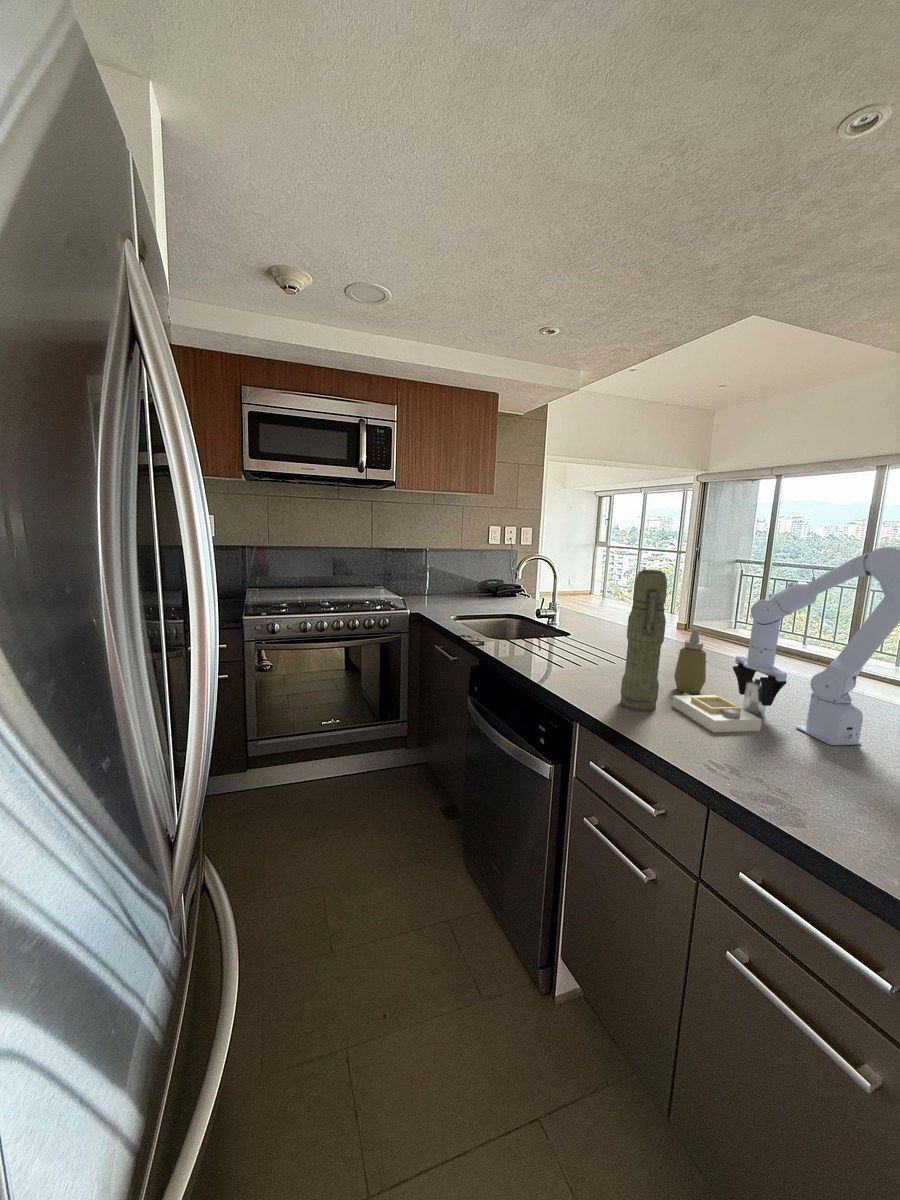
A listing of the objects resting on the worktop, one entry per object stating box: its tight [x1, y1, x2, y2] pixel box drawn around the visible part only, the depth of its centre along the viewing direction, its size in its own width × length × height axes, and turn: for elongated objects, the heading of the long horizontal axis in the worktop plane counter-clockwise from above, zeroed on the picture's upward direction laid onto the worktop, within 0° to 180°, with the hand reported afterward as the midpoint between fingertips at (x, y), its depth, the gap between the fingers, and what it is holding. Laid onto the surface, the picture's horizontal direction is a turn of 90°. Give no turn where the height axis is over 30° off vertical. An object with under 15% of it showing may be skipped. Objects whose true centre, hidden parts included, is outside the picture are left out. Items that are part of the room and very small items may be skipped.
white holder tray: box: [671, 692, 763, 733], centre depth 122 cm, size 20×12×4 cm, turn 8°
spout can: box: [742, 678, 767, 718], centre depth 124 cm, size 5×5×9 cm
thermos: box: [620, 569, 668, 713], centre depth 125 cm, size 9×12×35 cm
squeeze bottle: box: [673, 628, 707, 695], centre depth 139 cm, size 8×8×18 cm
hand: (754, 699), depth 124 cm, fingers open, 7 cm apart
